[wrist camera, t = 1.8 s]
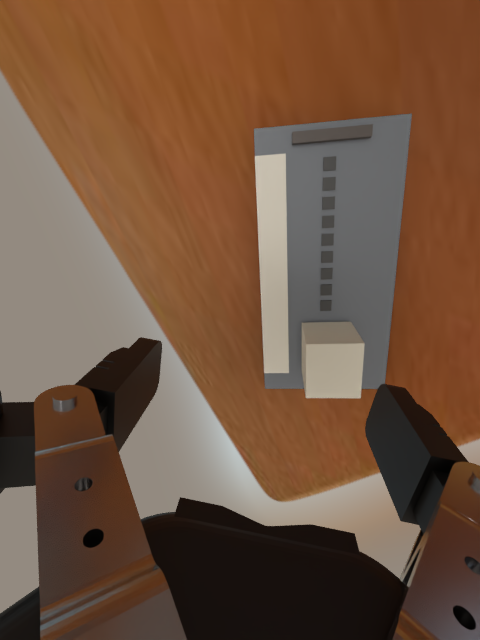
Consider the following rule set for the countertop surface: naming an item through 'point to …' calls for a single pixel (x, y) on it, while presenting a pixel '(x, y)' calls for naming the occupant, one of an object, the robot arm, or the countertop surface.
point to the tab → (332, 360)
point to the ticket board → (329, 236)
